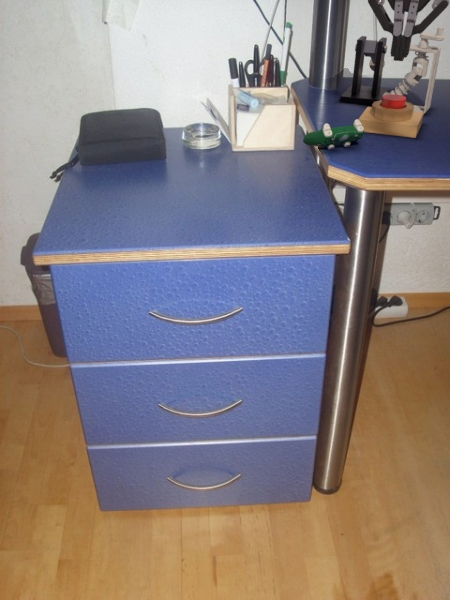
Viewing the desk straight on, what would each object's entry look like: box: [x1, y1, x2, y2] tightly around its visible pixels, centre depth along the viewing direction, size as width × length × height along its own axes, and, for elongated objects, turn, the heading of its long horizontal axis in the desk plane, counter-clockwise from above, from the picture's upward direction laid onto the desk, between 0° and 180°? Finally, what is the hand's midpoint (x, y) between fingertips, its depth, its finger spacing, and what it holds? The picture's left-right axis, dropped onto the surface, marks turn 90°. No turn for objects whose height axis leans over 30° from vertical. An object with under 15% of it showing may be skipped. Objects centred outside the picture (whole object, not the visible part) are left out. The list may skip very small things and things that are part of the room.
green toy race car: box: [302, 118, 365, 150], centre depth 96 cm, size 9×4×6 cm
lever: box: [364, 39, 386, 72], centre depth 122 cm, size 14×3×3 cm, turn 158°
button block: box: [358, 100, 425, 139], centre depth 104 cm, size 10×8×4 cm
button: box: [381, 94, 407, 109], centre depth 103 cm, size 4×4×2 cm
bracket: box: [339, 35, 390, 106], centre depth 119 cm, size 10×8×11 cm
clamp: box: [383, 26, 445, 115], centre depth 111 cm, size 4×10×15 cm, turn 62°
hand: (398, 59), depth 99 cm, fingers closed
